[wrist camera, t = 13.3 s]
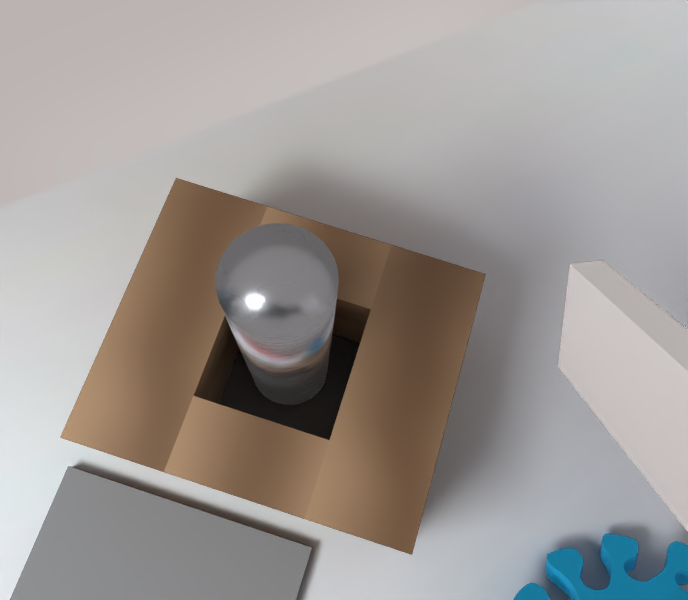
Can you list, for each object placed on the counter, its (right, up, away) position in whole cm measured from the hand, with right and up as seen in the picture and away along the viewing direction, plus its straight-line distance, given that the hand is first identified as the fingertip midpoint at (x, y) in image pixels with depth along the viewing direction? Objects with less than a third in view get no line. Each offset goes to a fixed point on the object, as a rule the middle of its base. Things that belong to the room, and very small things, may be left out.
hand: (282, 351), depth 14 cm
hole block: (-1, -2, +13) cm, 13 cm away
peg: (-1, -2, +13) cm, 13 cm away
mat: (-6, -11, +10) cm, 16 cm away
